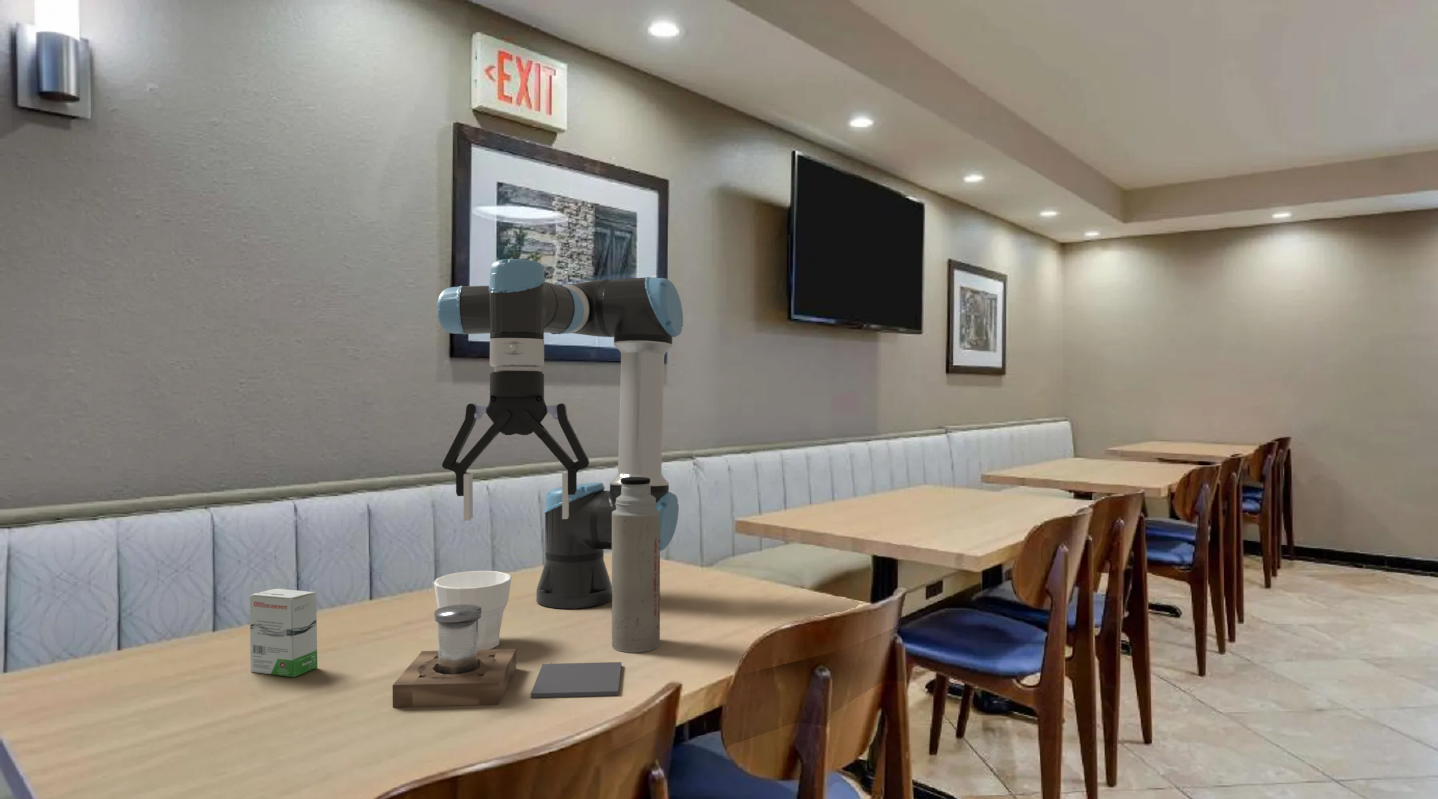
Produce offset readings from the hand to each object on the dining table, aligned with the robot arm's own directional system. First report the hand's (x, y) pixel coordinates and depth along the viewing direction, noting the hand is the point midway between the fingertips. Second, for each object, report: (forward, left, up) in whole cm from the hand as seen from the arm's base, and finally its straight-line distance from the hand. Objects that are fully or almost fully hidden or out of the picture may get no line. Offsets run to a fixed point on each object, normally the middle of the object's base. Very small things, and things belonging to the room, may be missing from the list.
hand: (517, 518), depth 117 cm
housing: (-1, -8, -24) cm, 26 cm away
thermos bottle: (-18, +17, -24) cm, 35 cm away
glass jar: (-1, -8, -24) cm, 26 cm away
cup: (-20, -10, -24) cm, 33 cm away
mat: (-2, +9, -24) cm, 26 cm away
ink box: (-10, -36, -24) cm, 45 cm away
